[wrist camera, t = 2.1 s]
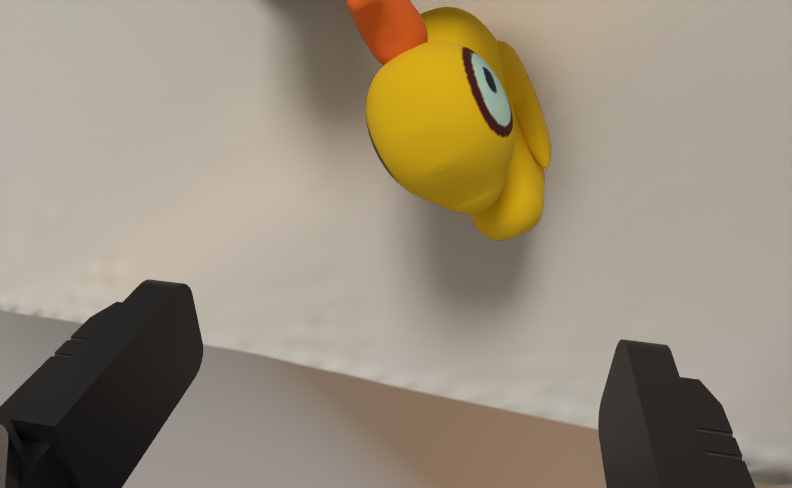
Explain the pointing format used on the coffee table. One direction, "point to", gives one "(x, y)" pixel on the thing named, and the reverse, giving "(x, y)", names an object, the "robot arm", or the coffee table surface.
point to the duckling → (455, 114)
